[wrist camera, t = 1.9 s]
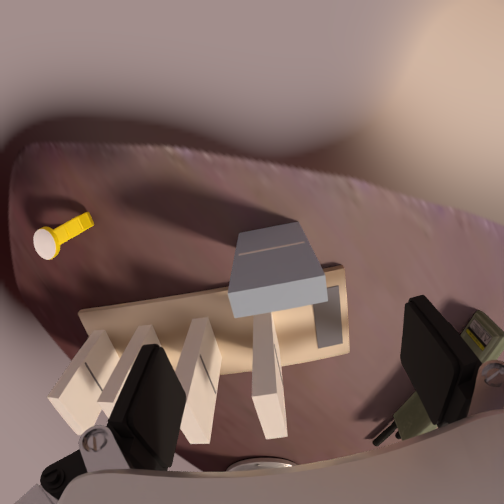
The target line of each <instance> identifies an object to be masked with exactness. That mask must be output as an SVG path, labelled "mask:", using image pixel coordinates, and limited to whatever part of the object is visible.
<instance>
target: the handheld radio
mask: <svg viewBox="0 0 504 504" xmlns="http://www.w3.org/2000/svg"><path fill="white" fill-rule="evenodd" d="M460 336H461V337H462V338H463V339H464V341H465V342H466V343H467V344H468V346H469V347H470V348H471V349H472V351H473V352H474V353H475V355H476V356H477V357H478V358H479V360H480V361H481V362H482V364H483V363H485V362H486V361H489V360H497V358H498V357H499V356H500V354H501V353H502V351H503V350H504V332H503V331H502V330H501V329H500V328H499V327H498V326H497V325H496V324H495V323H494V322H493V321H492V320H491V319H490V318H489V317H488V316H487V315H486V314H485V313H484V312H482V311H480V310H478V311H476V313H475V314H474V315H473V317H472V319H471V320H470V322H469V323H468V325H467V326H466V327H465V329H464V330H463V332H462V333H461V335H460ZM393 417H394V420H395V421H394V422H393V423H392V425H390V426H389V427H388V428H387V429H386V430H385V431H383V432H382V433H381V434H380V435H379V436H378V437H377V438H376V439H374V440H373V445H375V446H379V445H380V444H381V443H382V442H383V441H384V440H385V439H387V438H388V437H389V436H390V435H391V434H392V433H393V432H394V430H395V429H396V428H398V432H397V433H396V435H395V436H396V438H397V439H402V441H403V440H406V439H409V438H412V437H415V436H418V435H421V434H424V433H427V432H430V431H432V430H435V429H436V428H437V427H438V426H437V424H436V425H433V424H432V422H431V420H430V418H429V416H428V414H427V412H426V410H425V408H424V406H423V404H422V402H421V400H420V398H419V396H418V394H417V392H416V391H415V392H414V393H413V395H412V396H411V397H410V398H409V399H408V400H407V401H406V402H405V403H404V404H403V405H402V406H401V407H400V408H399V410H398V411H397V412H396V413H395V414H394V415H393Z"/></svg>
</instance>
